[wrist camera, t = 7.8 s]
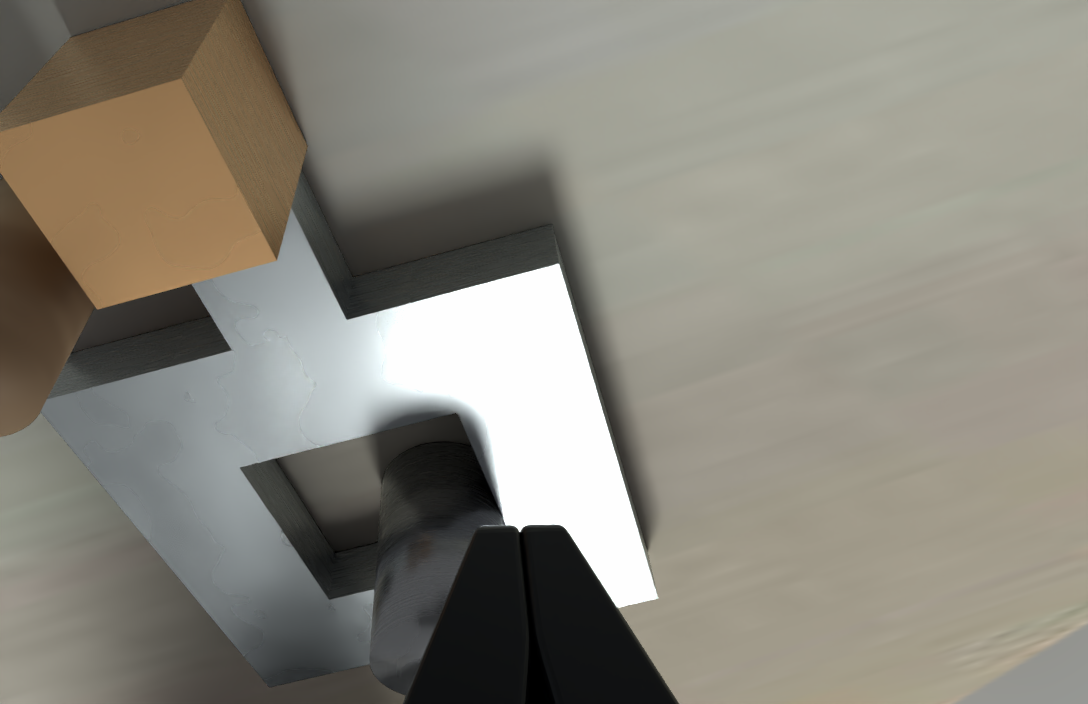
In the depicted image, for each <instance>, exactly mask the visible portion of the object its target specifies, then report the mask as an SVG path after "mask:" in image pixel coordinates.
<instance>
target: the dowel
mask: <svg viewBox="0 0 1088 704" xmlns="http://www.w3.org/2000/svg"><path fill="white" fill-rule="evenodd" d="M94 307H95V306H94V304H93V303H92V302H91V300H90V299H89V297H88V296H87V295H86V293H85V292H84V290H83V289H82V287H81V286H80V285H79V283H78V282H77V280H76V279H75V278H74V276H73V275H72V273H71V272H70V271H69V269H68V268H67V266H66V265H65V263H64V262H63V261H62V259H61V258H60V256H59V255H58V254H57V252H56V251H55V249H54V248H53V246H52V245H51V244H50V242H49V241H48V239H47V238H46V237H45V235H44V234H43V232H42V231H41V230H40V228H39V227H38V225H37V224H36V222H35V221H34V220H33V218H32V217H31V215H30V214H29V213H28V211H27V210H26V208H25V207H24V205H23V204H22V203H21V201H20V200H19V198H18V197H17V196H16V194H15V193H14V191H13V190H12V189H11V187H10V186H9V184H8V183H7V181H6V180H5V179H4V177H3V178H2V179H1V180H0V437H2V436H7V435H10V434H13V433H16V432H18V431H20V430H22V429H24V428H25V427H27V426H28V425H30V424H31V423H32V422H33V421H34V420H35V419H36V418H37V416H38V415H39V413H40V411H41V410H42V408H43V406H44V404H45V402H46V400H47V398H48V396H49V394H50V392H51V390H52V388H53V386H54V384H55V383H56V381H57V379H58V377H59V375H60V373H61V371H62V369H63V367H64V365H65V363H66V361H67V359H68V357H69V356H70V354H71V352H72V350H73V348H74V346H75V344H76V342H77V340H78V338H79V336H80V334H81V332H82V331H83V329H84V327H85V325H86V323H87V321H88V319H89V317H90V315H91V313H92V311H93V309H94Z"/></svg>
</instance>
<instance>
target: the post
mask: <svg viewBox="0 0 1088 704" xmlns="http://www.w3.org/2000/svg"><path fill="white" fill-rule="evenodd" d="M483 525H505V522H504V519H503V517H502V514H501V512H500V510H499V507H498V505H497V503H496V500H495V498H494V496H493V494H492V491H491V489H490V487H489V484H488V482H487V480H486V477H485V475H484V473H483V470H482V468H481V466H480V464H479V461H478V459H477V457H476V454H475V452H474V450H473V448H472V447H470V446H466V445H463V444H458V443H450V442H436V443H428V444H423V445H420V446H416V447H414V448H411V449H409V450H407V451H405V452H403V453H402V454H400V455H399V456H398V457H396V458H395V459H394V460H393V461H392V462H391V463H390V465H389V466H388V467H387V469H386V471H385V473H384V476H383V481H382V492H381V506H380V520H379V533H378V547H377V561H376V574H375V588H374V602H373V615H372V629H371V643H370V656H369V662H370V667H371V670H372V672H373V674H374V675H375V677H376V678H377V679H378V680H379V681H380V682H381V683H382V684H384V685H385V686H387V687H388V688H390V689H392V690H394V691H396V692H398V693H401V694H404V695H407V692H408V690H409V688H410V685H411V683H412V680H413V678H414V675H415V673H416V671H417V668H418V666H419V663H420V661H421V658H422V656H423V654H424V651H425V649H426V646H427V644H428V641H429V639H430V637H431V634H432V632H433V629H434V627H435V624H436V622H437V620H438V617H439V615H440V612H441V610H442V607H443V605H444V603H445V600H446V598H447V595H448V593H449V590H450V588H451V586H452V583H453V581H454V578H455V576H456V573H457V571H458V569H459V566H460V564H461V561H462V559H463V556H464V554H465V552H466V549H467V547H468V544H469V542H470V540H471V537H472V535H473V533H474V531H475V530H476V529H477V528H478V527H479V526H483Z"/></svg>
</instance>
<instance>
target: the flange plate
mask: <svg viewBox="0 0 1088 704" xmlns="http://www.w3.org/2000/svg"><path fill="white" fill-rule="evenodd" d="M306 150H307V144H306V142H305V140H304V138H303V135H302V133H301V131H300V129H299V127H298V124H297V122H296V120H295V118H294V116H293V114H292V111H291V109H290V107H289V105H288V103H287V101H286V98H285V96H284V94H283V92H282V90H281V88H280V85H279V83H278V81H277V79H276V77H275V74H274V72H273V70H272V68H271V66H270V64H269V61H268V59H267V57H266V55H265V53H264V51H263V48H262V46H261V44H260V42H259V40H258V38H257V35H256V33H255V31H254V29H253V27H252V24H251V22H250V20H249V18H248V16H247V14H246V11H245V9H244V7H243V5H242V3H241V1H240V0H193V1H189V2H186V3H183V4H179V5H176V6H173V7H170V8H166V9H163V10H160V11H156V12H153V13H150V14H146V15H143V16H140V17H136V18H133V19H130V20H127V21H123V22H120V23H117V24H113V25H110V26H107V27H103V28H100V29H97V30H94V31H90V32H87V33H84V34H80V35H77V36H74V37H70V38H69V40H68V41H67V42H66V43H65V44H64V45H63V46H62V47H61V48H60V49H59V50H58V51H57V53H56V54H55V55H54V56H53V57H52V58H51V59H50V60H49V61H48V62H47V63H46V64H45V65H44V67H43V68H42V69H41V70H40V71H39V72H38V73H37V74H36V75H35V76H34V77H33V78H32V80H31V81H30V82H29V83H28V84H27V85H26V86H25V87H24V88H23V89H22V90H21V91H20V92H19V94H18V95H17V96H16V97H15V98H14V99H13V100H12V101H11V102H10V103H9V104H8V105H7V107H6V108H5V109H4V110H3V111H2V112H1V113H0V173H1V174H2V176H3V177H4V179H5V180H6V181H7V183H8V184H9V186H10V187H11V189H12V190H13V191H14V193H15V194H16V196H17V197H18V198H19V200H20V201H21V203H22V204H23V205H24V207H25V208H26V210H27V211H28V213H29V214H30V215H31V217H32V218H33V220H34V221H35V222H36V224H37V225H38V227H39V228H40V230H41V231H42V232H43V234H44V235H45V237H46V238H47V239H48V241H49V242H50V244H51V245H52V246H53V248H54V249H55V251H56V252H57V254H58V255H59V256H60V258H61V259H62V261H63V262H64V263H65V265H66V266H67V268H68V269H69V271H70V272H71V273H72V275H73V276H74V278H75V279H76V280H77V282H78V283H79V285H80V286H81V287H82V289H83V290H84V292H85V293H86V295H87V296H88V297H89V299H90V300H91V302H92V303H93V304H94V306H95V307H96V309H97V310H98V309H102V308H105V307H109V306H113V305H116V304H120V303H124V302H127V301H131V300H135V299H138V298H142V297H146V296H149V295H153V294H157V293H160V292H164V291H168V290H171V289H175V288H179V287H182V286H186V285H190V284H192V286H193V287H194V289H195V291H196V292H197V294H198V296H199V297H200V299H201V301H202V302H203V304H204V305H205V307H206V309H207V310H208V312H209V314H210V315H211V316H209V317H205V318H201V319H198V320H194V321H190V322H186V323H183V324H179V325H175V326H172V327H168V328H164V329H160V330H157V331H153V332H149V333H146V334H142V335H138V336H134V337H131V338H127V339H123V340H120V341H116V342H112V343H108V344H105V345H101V346H97V347H94V348H90V349H86V350H82V351H79V352H75V353H71V354H70V356H69V357H68V359H67V361H66V363H65V365H64V367H63V369H62V371H61V373H60V375H59V377H58V379H57V381H56V383H55V384H54V386H53V388H52V390H51V392H50V394H49V396H48V398H47V400H46V402H45V404H44V406H43V408H42V410H41V411H40V412H41V413H42V414H43V415H44V417H45V418H46V419H47V420H48V421H49V423H50V424H51V425H52V426H53V427H54V429H55V430H56V431H57V432H58V433H59V435H60V436H61V437H62V438H63V439H64V441H65V442H66V443H67V444H68V446H69V447H70V448H71V449H72V450H73V452H74V453H75V454H76V455H77V456H78V458H79V459H80V460H81V461H82V462H83V464H84V465H85V466H86V467H87V468H88V470H89V471H90V472H91V473H92V474H93V476H94V477H95V478H96V479H97V480H98V482H99V483H100V484H101V485H102V486H103V488H104V489H105V490H106V491H107V492H108V494H109V495H110V496H111V497H112V499H113V500H114V501H115V502H116V503H117V505H118V506H119V507H120V508H121V509H122V511H123V512H124V513H125V514H126V515H127V517H128V518H129V519H130V520H131V521H132V523H133V524H134V525H135V526H136V527H137V529H138V530H139V531H140V532H141V533H142V535H143V536H144V537H145V538H146V539H147V541H148V542H149V543H150V544H151V545H152V547H153V548H154V549H155V550H156V552H157V553H158V554H159V555H160V556H161V558H162V559H163V560H164V561H165V562H166V564H167V565H168V566H169V567H170V568H171V570H172V571H173V572H174V573H175V574H176V576H177V577H178V578H179V579H180V580H181V582H182V583H183V584H184V585H185V586H186V588H187V589H188V590H189V591H190V592H191V594H192V595H193V596H194V597H195V599H196V600H197V601H198V602H199V603H200V605H201V606H202V607H203V608H204V609H205V611H206V612H207V613H208V614H209V615H210V617H211V618H212V619H213V620H214V621H215V623H216V624H217V625H218V626H219V627H220V629H221V630H222V631H223V632H224V633H225V635H226V636H227V637H228V638H229V639H230V641H231V642H232V643H233V644H234V645H235V647H236V648H237V649H238V650H239V652H240V653H241V654H242V655H243V656H244V658H245V659H246V660H247V661H248V662H249V664H250V665H251V666H252V667H253V668H254V670H255V671H256V672H257V673H258V674H259V676H260V677H261V678H262V679H263V680H264V682H265V683H266V684H267V685H268V686H269V687H273V686H277V685H282V684H286V683H291V682H295V681H299V680H304V679H308V678H312V677H317V676H321V675H325V674H330V673H334V672H339V671H343V670H347V669H352V668H356V667H360V666H365V665H369V664H370V662H369V656H370V643H371V629H372V615H373V602H374V588H375V574H376V561H377V547H378V543H375V544H371V545H367V546H363V547H359V548H354V549H350V550H346V551H342V552H338V553H334V552H333V550H332V548H331V547H330V545H329V544H328V542H327V540H326V539H325V537H324V536H323V534H322V533H321V531H320V529H319V528H318V526H317V525H316V523H315V522H314V520H313V518H312V517H311V515H310V514H309V512H308V511H307V509H306V507H305V506H304V504H303V503H302V501H301V500H300V498H299V496H298V495H297V493H296V492H295V490H294V489H293V487H292V485H291V484H290V482H289V481H288V479H287V478H286V476H285V474H284V473H283V471H282V470H281V468H280V467H279V465H278V463H277V462H276V460H275V458H279V457H283V456H287V455H291V454H295V453H299V452H303V451H307V450H311V449H315V448H319V447H323V446H327V445H331V444H335V443H339V442H342V441H346V440H350V439H354V438H358V437H362V436H366V435H370V434H374V433H378V432H382V431H386V430H390V429H394V428H398V427H402V426H406V425H410V424H414V423H418V422H422V421H426V420H430V419H434V418H438V417H441V416H445V415H449V414H453V413H458V415H459V418H460V420H461V422H462V424H463V427H464V429H465V431H466V434H467V436H468V438H469V441H470V443H471V445H472V447H473V450H474V452H475V454H476V457H477V459H478V461H479V464H480V466H481V468H482V470H483V473H484V475H485V477H486V480H487V482H488V484H489V487H490V489H491V491H492V494H493V496H494V498H495V500H496V503H497V505H498V507H499V510H500V512H501V514H502V517H503V519H504V522H505V525H514V526H516V527H517V528H518V529H519V531H520V530H521V528H522V527H524V526H525V525H528V524H560V525H562V526H564V527H565V528H566V529H567V531H568V532H569V533H570V535H571V536H572V538H573V539H574V541H575V543H576V544H577V546H578V547H579V549H580V550H581V552H582V553H583V555H584V557H585V558H586V560H587V561H588V563H589V564H590V566H591V567H592V569H593V571H594V572H595V574H596V575H597V577H598V578H599V580H600V581H601V583H602V585H603V586H604V588H605V589H606V591H607V592H608V594H609V595H610V597H611V599H612V600H613V602H614V603H615V605H616V606H617V608H618V607H623V606H627V605H631V604H636V603H640V602H644V601H649V600H653V599H657V598H658V596H657V592H656V587H655V583H654V578H653V574H652V569H651V565H650V560H649V556H648V552H647V548H646V545H645V542H644V538H643V535H642V531H641V528H640V524H639V521H638V518H637V514H636V511H635V507H634V504H633V500H632V497H631V494H630V490H629V487H628V483H627V480H626V476H625V473H624V470H623V466H622V463H621V459H620V456H619V452H618V449H617V446H616V442H615V439H614V435H613V432H612V428H611V425H610V422H609V418H608V415H607V411H606V408H605V405H604V401H603V398H602V394H601V391H600V387H599V384H598V381H597V377H596V374H595V370H594V367H593V363H592V360H591V357H590V353H589V350H588V346H587V343H586V339H585V336H584V333H583V329H582V326H581V322H580V319H579V315H578V312H577V309H576V305H575V302H574V298H573V295H572V291H571V288H570V285H569V281H568V278H567V274H566V271H565V267H564V264H563V261H562V257H561V254H560V250H559V247H558V243H557V240H556V237H555V233H554V230H553V226H552V224H550V225H547V226H543V227H539V228H536V229H532V230H528V231H524V232H521V233H517V234H513V235H510V236H506V237H502V238H498V239H495V240H491V241H487V242H484V243H480V244H476V245H472V246H469V247H465V248H461V249H458V250H454V251H450V252H446V253H443V254H439V255H435V256H432V257H428V258H424V259H420V260H417V261H413V262H409V263H406V264H402V265H398V266H394V267H391V268H387V269H383V270H380V271H376V272H372V273H368V274H365V275H361V276H357V277H354V278H353V277H352V275H351V273H350V271H349V269H348V267H347V265H346V263H345V260H344V258H343V256H342V254H341V252H340V250H339V248H338V246H337V243H336V241H335V239H334V237H333V235H332V233H331V231H330V229H329V227H328V224H327V222H326V220H325V218H324V216H323V214H322V212H321V210H320V208H319V205H318V203H317V201H316V199H315V197H314V195H313V193H312V191H311V189H310V186H309V184H308V182H307V180H306V178H305V176H304V174H303V172H302V170H301V169H302V165H303V161H304V158H305V154H306Z"/></svg>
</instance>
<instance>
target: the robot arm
mask: <svg viewBox="0 0 1088 704" xmlns="http://www.w3.org/2000/svg"><path fill="white" fill-rule="evenodd" d="M403 704H679V703H678V701H677V700H676V698H675V697H674V695H673V694H672V692H671V690H670V689H669V687H668V686H667V684H666V683H665V681H664V680H663V678H662V676H661V675H660V673H659V672H658V670H657V669H656V667H655V666H654V664H653V662H652V661H651V659H650V658H649V656H648V655H647V653H646V652H645V650H644V648H643V647H642V645H641V644H640V642H639V641H638V639H637V638H636V636H635V634H634V633H633V631H632V630H631V628H630V627H629V625H628V623H627V622H626V620H625V619H624V617H623V616H622V614H621V613H620V611H619V609H618V608H617V606H616V605H615V603H614V602H613V600H612V599H611V597H610V595H609V594H608V592H607V591H606V589H605V588H604V586H603V585H602V583H601V581H600V580H599V578H598V577H597V575H596V574H595V572H594V571H593V569H592V567H591V566H590V564H589V563H588V561H587V560H586V558H585V557H584V555H583V553H582V552H581V550H580V549H579V547H578V546H577V544H576V543H575V541H574V539H573V538H572V536H571V535H570V533H569V532H568V531H567V529H566V528H565V527H564V526H562V525H560V524H528V525H525V526H524V527H522V528H521V530H520V531H519V529H518V528H517V527H516V526H514V525H483V526H479V527H478V528H477V529H476V530H475V531H474V533H473V535H472V537H471V540H470V542H469V544H468V547H467V549H466V552H465V554H464V556H463V559H462V561H461V564H460V566H459V569H458V571H457V573H456V576H455V578H454V581H453V583H452V586H451V588H450V590H449V593H448V595H447V598H446V600H445V603H444V605H443V607H442V610H441V612H440V615H439V617H438V620H437V622H436V624H435V627H434V629H433V632H432V634H431V637H430V639H429V641H428V644H427V646H426V649H425V651H424V654H423V656H422V658H421V661H420V663H419V666H418V668H417V671H416V673H415V675H414V678H413V680H412V683H411V685H410V688H409V690H408V692H407V695H406V697H405V700H404V702H403Z"/></svg>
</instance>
